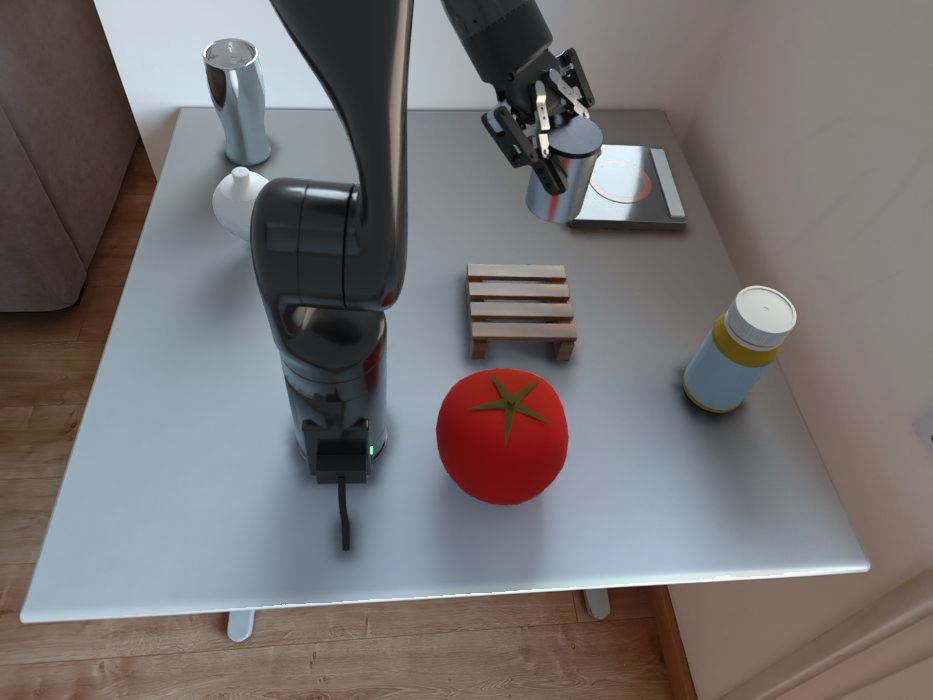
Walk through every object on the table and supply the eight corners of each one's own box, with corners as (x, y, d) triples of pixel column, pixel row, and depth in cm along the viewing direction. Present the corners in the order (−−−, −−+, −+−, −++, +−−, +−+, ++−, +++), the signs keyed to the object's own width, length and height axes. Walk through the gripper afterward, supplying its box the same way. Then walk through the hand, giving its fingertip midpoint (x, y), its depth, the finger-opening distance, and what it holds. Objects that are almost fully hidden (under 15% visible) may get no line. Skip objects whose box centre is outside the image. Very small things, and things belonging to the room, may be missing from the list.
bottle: (697, 421, 80) (752, 342, 68) (670, 370, 84) (719, 287, 72) (750, 409, 82) (814, 330, 70) (722, 360, 86) (778, 277, 74)
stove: (683, 230, 98) (688, 220, 97) (570, 227, 97) (573, 217, 95) (659, 154, 108) (663, 144, 106) (555, 150, 106) (557, 140, 104)
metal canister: (586, 225, 74) (608, 155, 67) (527, 223, 73) (543, 152, 66) (577, 184, 77) (597, 114, 70) (521, 182, 77) (536, 111, 69)
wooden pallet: (571, 360, 84) (578, 341, 80) (469, 359, 82) (472, 340, 79) (558, 282, 91) (564, 262, 87) (464, 280, 89) (466, 260, 86)
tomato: (454, 536, 70) (465, 485, 60) (420, 418, 77) (425, 356, 68) (574, 506, 73) (603, 453, 63) (530, 395, 80) (550, 333, 71)
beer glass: (220, 139, 100) (197, 39, 88) (270, 133, 102) (255, 35, 90) (226, 171, 97) (203, 72, 85) (278, 164, 98) (263, 66, 86)
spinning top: (293, 261, 88) (282, 187, 79) (230, 275, 86) (211, 200, 77) (279, 219, 92) (266, 144, 83) (218, 231, 90) (198, 155, 81)
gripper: (476, 31, 58) (570, 206, 64) (564, -32, 65) (640, 130, 72) (421, 64, 64) (512, 221, 70) (508, 2, 71) (583, 149, 78)
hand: (577, 174), depth 71 cm, fingers closed on metal canister, 6 cm apart
